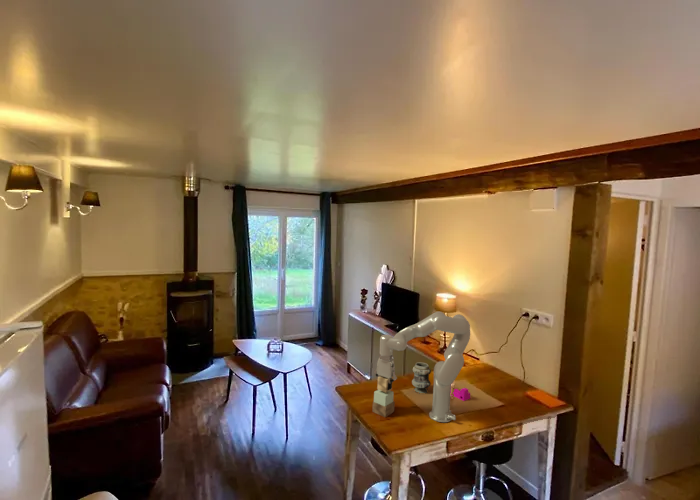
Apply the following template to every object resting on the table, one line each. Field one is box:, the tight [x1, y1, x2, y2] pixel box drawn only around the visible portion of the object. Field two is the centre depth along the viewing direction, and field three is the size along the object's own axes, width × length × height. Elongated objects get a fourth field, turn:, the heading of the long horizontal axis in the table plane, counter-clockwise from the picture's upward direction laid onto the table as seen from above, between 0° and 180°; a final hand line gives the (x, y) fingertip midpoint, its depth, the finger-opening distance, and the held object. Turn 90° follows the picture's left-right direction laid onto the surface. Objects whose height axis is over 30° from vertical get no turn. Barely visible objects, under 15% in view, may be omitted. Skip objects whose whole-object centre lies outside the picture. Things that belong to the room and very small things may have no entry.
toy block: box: [453, 387, 471, 402], centre depth 239 cm, size 15×6×8 cm, turn 36°
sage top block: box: [373, 389, 395, 406], centre depth 215 cm, size 8×8×6 cm
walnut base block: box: [371, 400, 396, 418], centre depth 215 cm, size 9×9×6 cm
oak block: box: [376, 376, 393, 392], centre depth 214 cm, size 6×6×7 cm
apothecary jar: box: [411, 362, 432, 394], centre depth 244 cm, size 12×12×18 cm
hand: (384, 387), depth 214 cm, fingers closed on oak block, 5 cm apart
